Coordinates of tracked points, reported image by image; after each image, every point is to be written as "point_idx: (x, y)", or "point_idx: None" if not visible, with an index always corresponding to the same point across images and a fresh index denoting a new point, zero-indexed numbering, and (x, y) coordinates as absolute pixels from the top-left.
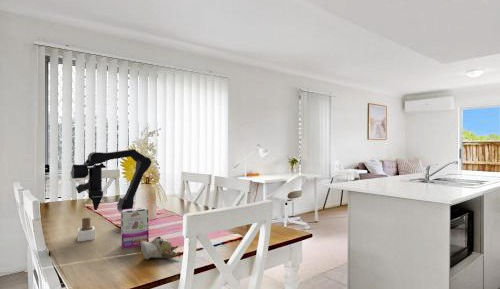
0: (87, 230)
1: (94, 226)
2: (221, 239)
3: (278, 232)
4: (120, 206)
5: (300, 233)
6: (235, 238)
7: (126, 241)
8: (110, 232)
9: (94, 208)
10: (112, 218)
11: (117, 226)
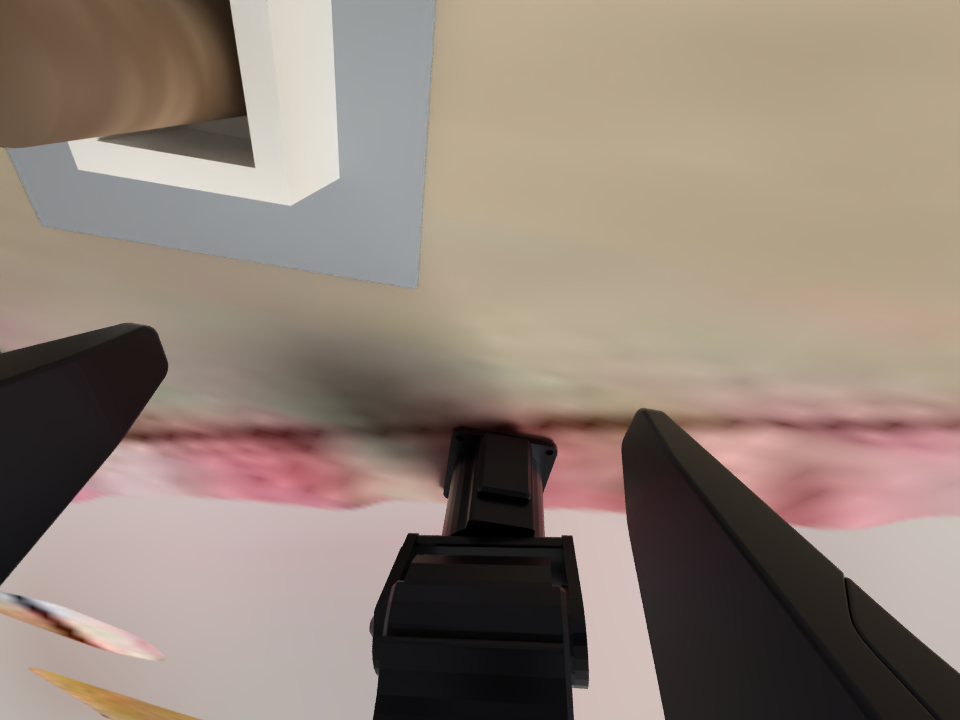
0: None
1: (275, 202)
2: (83, 620)
3: (143, 705)
4: (399, 639)
5: (121, 717)
6: (91, 642)
7: None
8: (413, 333)
9: (77, 348)
10: (925, 461)
11: (581, 420)
